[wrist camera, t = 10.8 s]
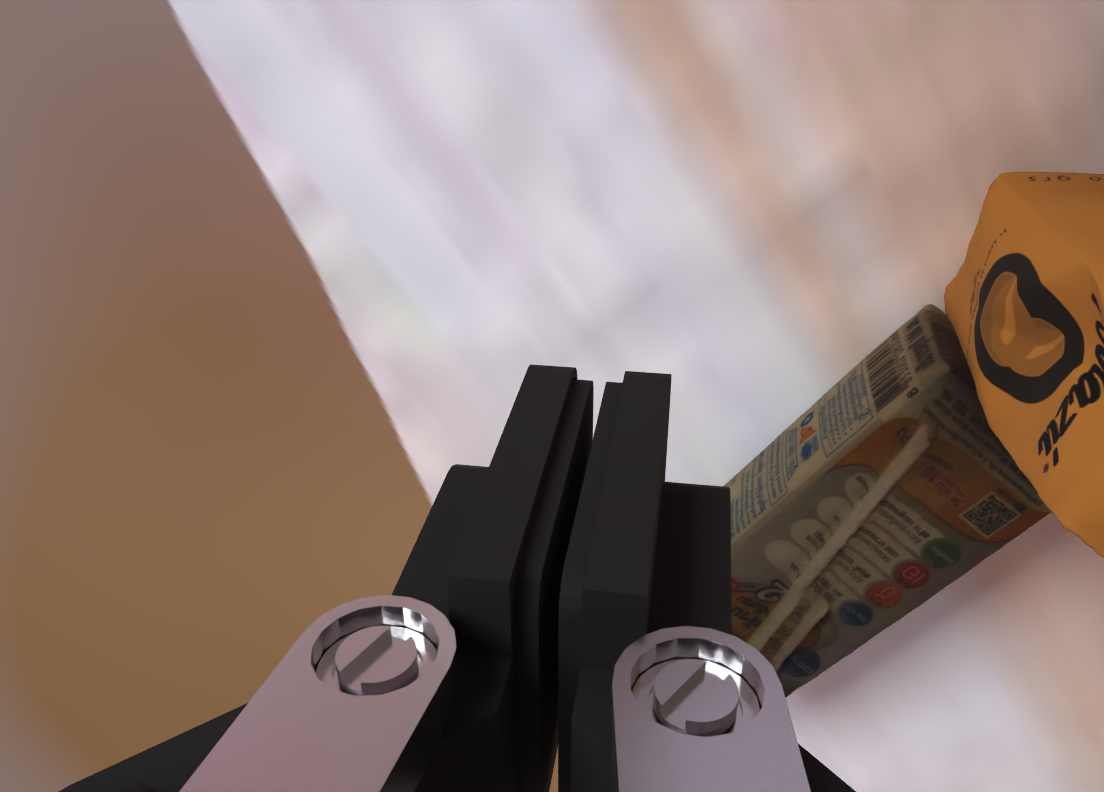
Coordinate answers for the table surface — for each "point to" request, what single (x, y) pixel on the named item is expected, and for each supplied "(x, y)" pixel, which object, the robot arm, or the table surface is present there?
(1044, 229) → the coffee package
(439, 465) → the table surface
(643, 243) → the table surface
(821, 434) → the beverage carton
